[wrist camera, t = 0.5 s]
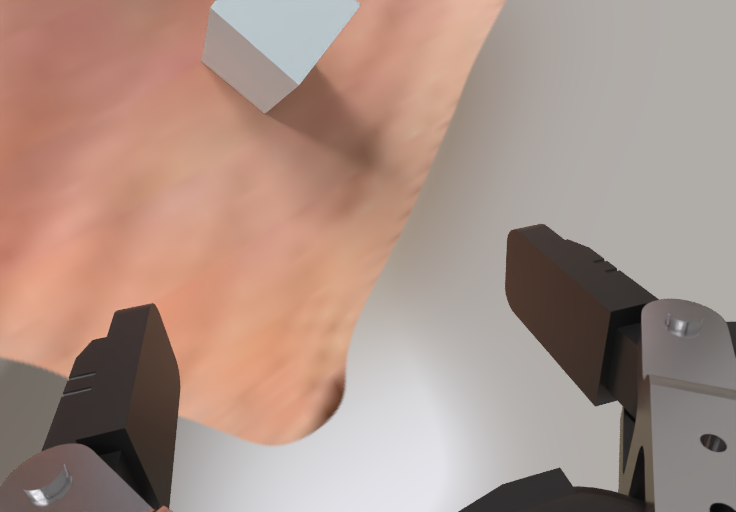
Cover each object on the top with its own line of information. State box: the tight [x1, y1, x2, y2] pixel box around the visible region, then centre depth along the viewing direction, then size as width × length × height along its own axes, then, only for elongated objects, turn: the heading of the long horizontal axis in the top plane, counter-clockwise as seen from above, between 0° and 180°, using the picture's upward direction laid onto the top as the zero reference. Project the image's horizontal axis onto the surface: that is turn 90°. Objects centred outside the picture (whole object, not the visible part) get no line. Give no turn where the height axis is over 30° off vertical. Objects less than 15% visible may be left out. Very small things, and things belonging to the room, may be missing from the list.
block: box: [202, 0, 361, 114], centre depth 27 cm, size 4×4×10 cm
